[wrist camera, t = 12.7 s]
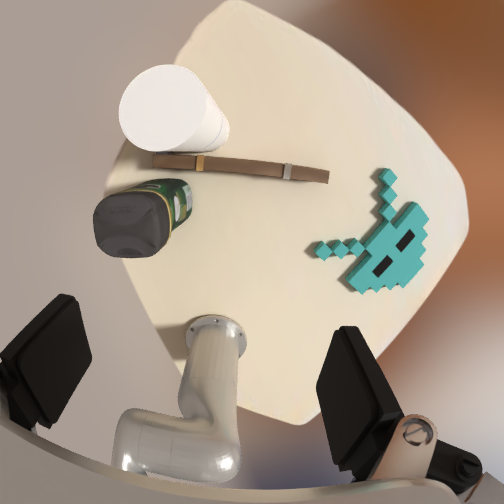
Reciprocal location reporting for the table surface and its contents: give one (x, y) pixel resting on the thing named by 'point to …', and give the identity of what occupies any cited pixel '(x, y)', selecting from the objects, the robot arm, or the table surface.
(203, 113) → the cylindrical container
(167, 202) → the coffee jar
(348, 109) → the table surface
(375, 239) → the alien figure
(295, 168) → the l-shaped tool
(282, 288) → the table surface
